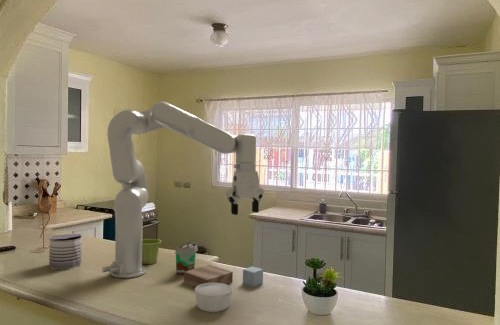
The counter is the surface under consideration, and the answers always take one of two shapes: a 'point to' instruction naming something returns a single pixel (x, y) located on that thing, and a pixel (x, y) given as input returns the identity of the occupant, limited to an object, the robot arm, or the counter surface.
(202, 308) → the ramekin
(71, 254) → the can
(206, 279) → the walnut block
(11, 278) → the counter surface
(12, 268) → the counter surface
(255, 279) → the slate block
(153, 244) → the plant pot
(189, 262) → the food container
